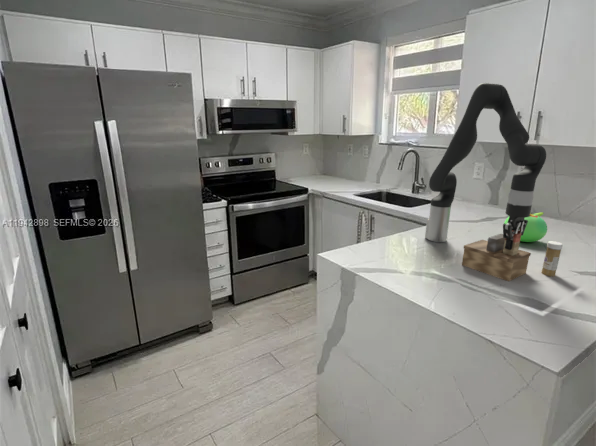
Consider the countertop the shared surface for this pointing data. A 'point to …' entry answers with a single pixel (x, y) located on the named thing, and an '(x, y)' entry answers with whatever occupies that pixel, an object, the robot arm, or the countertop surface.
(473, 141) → the robot arm
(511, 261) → the lid
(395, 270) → the countertop surface
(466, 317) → the countertop surface
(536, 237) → the green rounded piece
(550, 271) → the sprinkles bottle
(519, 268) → the wooden box
